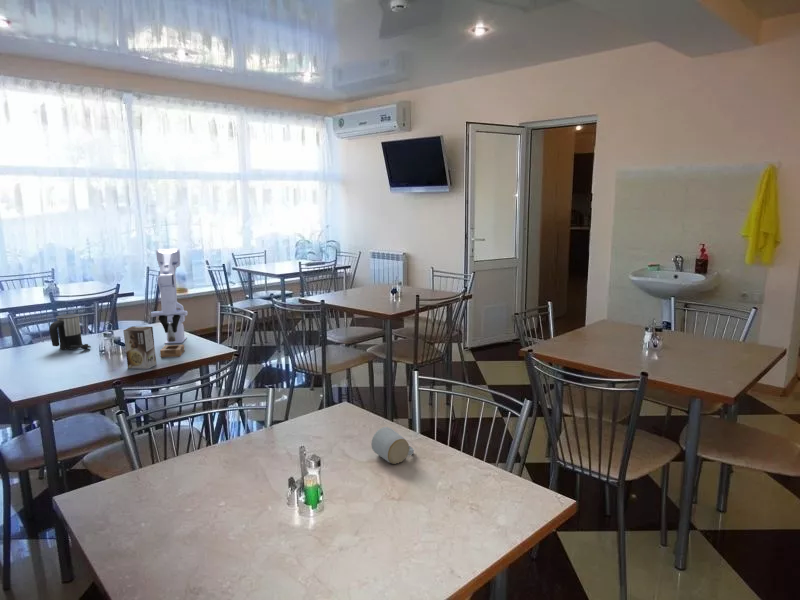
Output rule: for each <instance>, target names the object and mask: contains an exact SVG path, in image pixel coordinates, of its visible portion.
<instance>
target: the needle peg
mask: <svg viewBox="0 0 800 600" xmlns="http://www.w3.org/2000/svg"><path fill="white" fill-rule="evenodd" d="M167 334H168V341H169V342H173V341H176V339H175V333H174V325H173V322H169V323H167ZM167 334H166V335H167Z"/></svg>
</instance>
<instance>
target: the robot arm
mask: <svg viewBox="0 0 800 600" xmlns="http://www.w3.org/2000/svg"><path fill="white" fill-rule="evenodd" d="M155 254H156V261H157V264H158V266H159V275H158V276H157V285H158V288H159V289H158V290H159V292H160V302H161V303H160V304H161V310H159V311H158V310H156V311H151V312H150V316H151V318H154V317H158V321H159V322H160V323H161V325H162V327H163V331H164V332H165V334H166V340H165V341H164V345H170V344H182V343H184V342H185V340H186V339H187V338H188V337H187V336H185V327H184V326H185V325H184V324H183V323H184V322H185V321H186V316H188V315H189V314H188V310H185V309H184V308H185V307H184V306H183V304H181V303H180V302H178V297H177V296H178V294H177V280H176V279H177V277H176V272H177V271H176V270H177V268H179V267H180V266H181V252H180V248H157V249H156V253H155ZM169 322H173V325H174V333H175V339H176V341H173V342H169V341H168V334H167V323H169Z"/></svg>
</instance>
